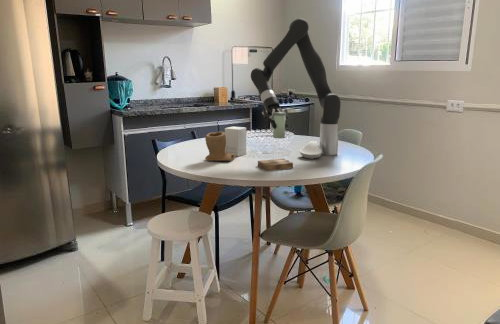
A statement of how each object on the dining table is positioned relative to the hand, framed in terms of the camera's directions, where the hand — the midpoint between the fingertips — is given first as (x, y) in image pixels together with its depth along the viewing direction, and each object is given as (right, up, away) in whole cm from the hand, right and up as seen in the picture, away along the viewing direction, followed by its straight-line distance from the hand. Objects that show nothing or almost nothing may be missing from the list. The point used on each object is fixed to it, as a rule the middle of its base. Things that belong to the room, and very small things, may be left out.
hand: (281, 127), depth 185 cm
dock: (-3, -19, -2) cm, 20 cm away
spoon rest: (+19, -14, +23) cm, 33 cm away
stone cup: (-31, -17, +10) cm, 36 cm away
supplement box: (-23, -13, +24) cm, 36 cm away
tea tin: (-1, -5, +3) cm, 6 cm away
